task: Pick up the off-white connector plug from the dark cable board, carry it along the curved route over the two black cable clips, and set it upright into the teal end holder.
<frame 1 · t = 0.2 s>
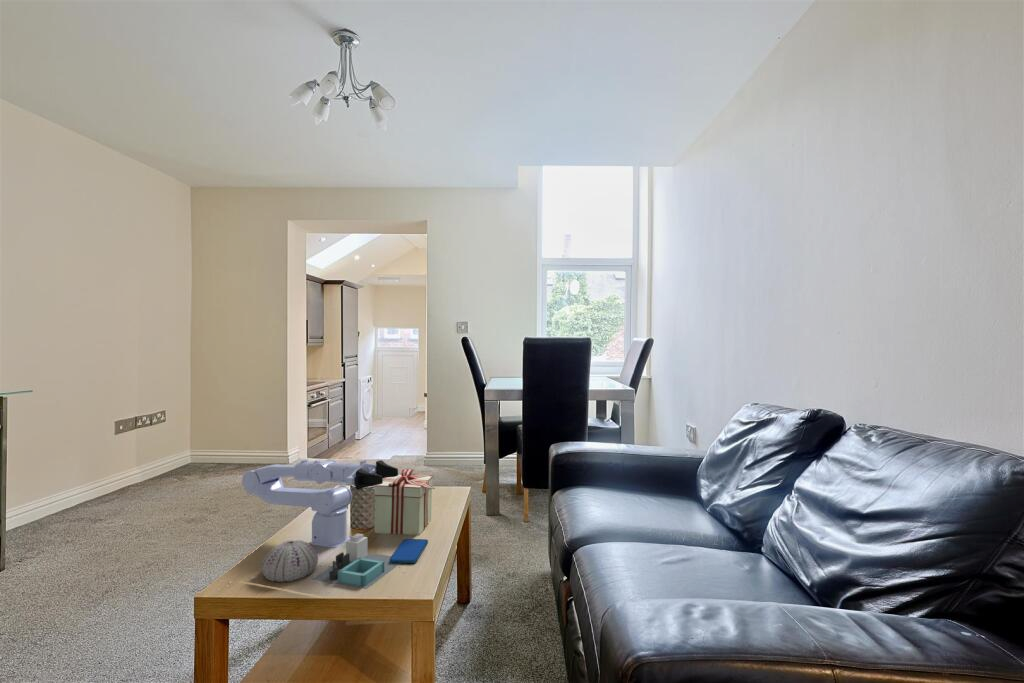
hand: (389, 476, 140), 21 cm above the table, tool horizontal, fingers open, 7 cm apart
cable board: (361, 569, 128), on the table
sea urchin shell: (290, 574, 126), on the table
smartphone: (409, 552, 138), on the table, touching cable board
connector plug: (356, 558, 135), resting on cable board
gift box: (408, 527, 160), on the table
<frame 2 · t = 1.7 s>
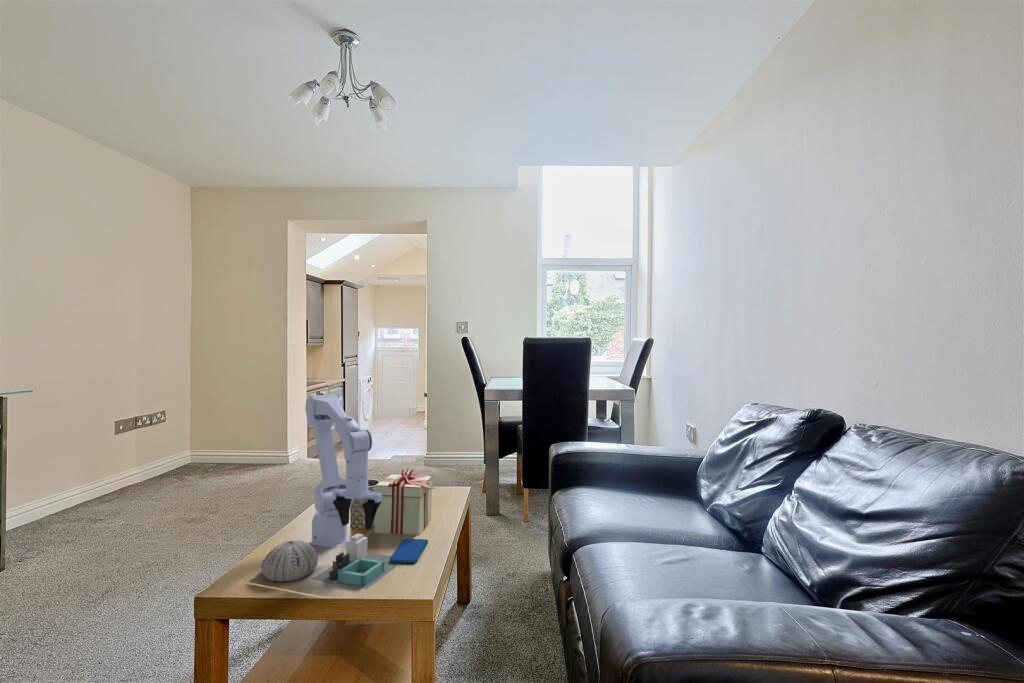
hand: (357, 526, 135), 9 cm above the table, tool pointing down, fingers open, 7 cm apart
nothing on the table moved.
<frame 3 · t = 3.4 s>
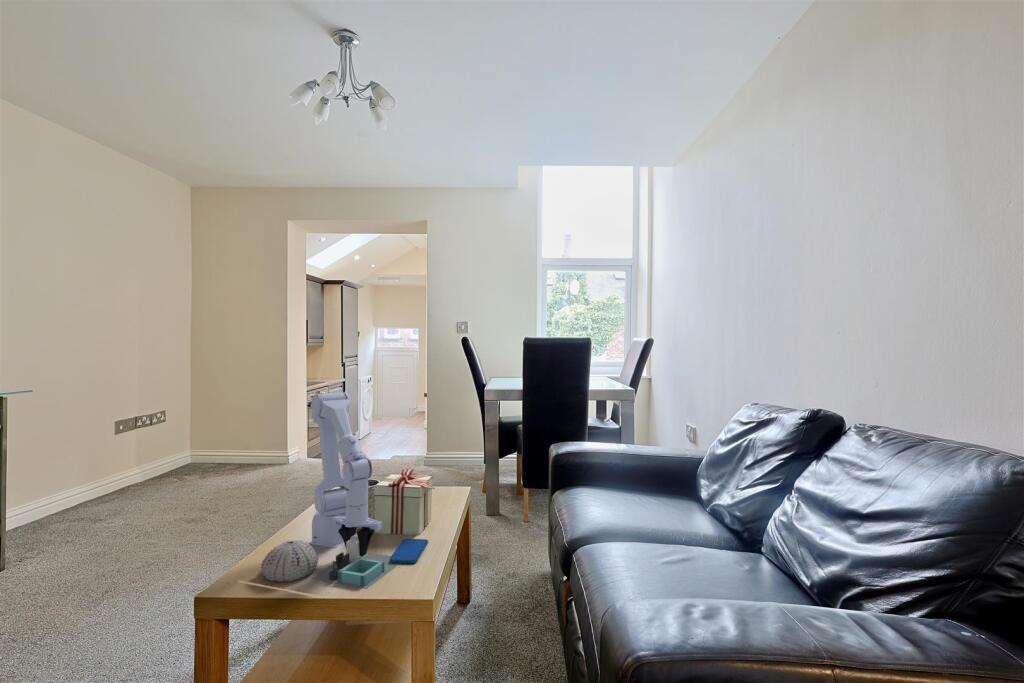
hand: (356, 553, 135), 2 cm above the table, tool pointing down, fingers closed on connector plug, 3 cm apart
connector plug: (356, 558, 135), resting on cable board, touching gripper
everything else where it was.
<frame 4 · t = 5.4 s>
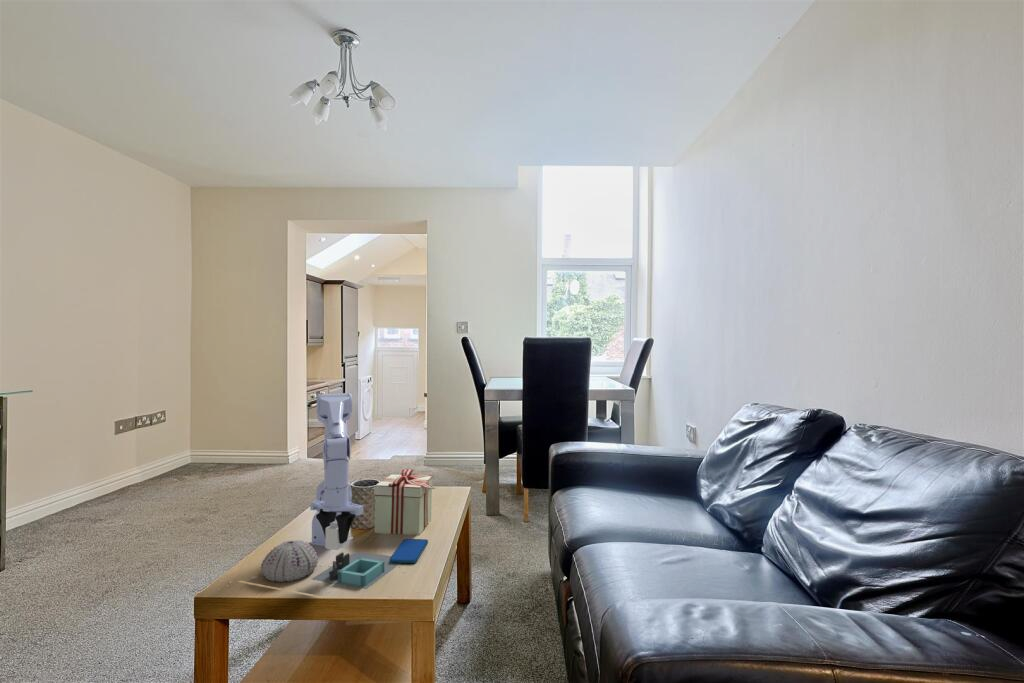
hand: (336, 541, 124), 9 cm above the table, tool pointing down, fingers closed on connector plug, 3 cm apart
connector plug: (337, 545, 124), point 8 cm above the table, touching gripper
everything else where it was.
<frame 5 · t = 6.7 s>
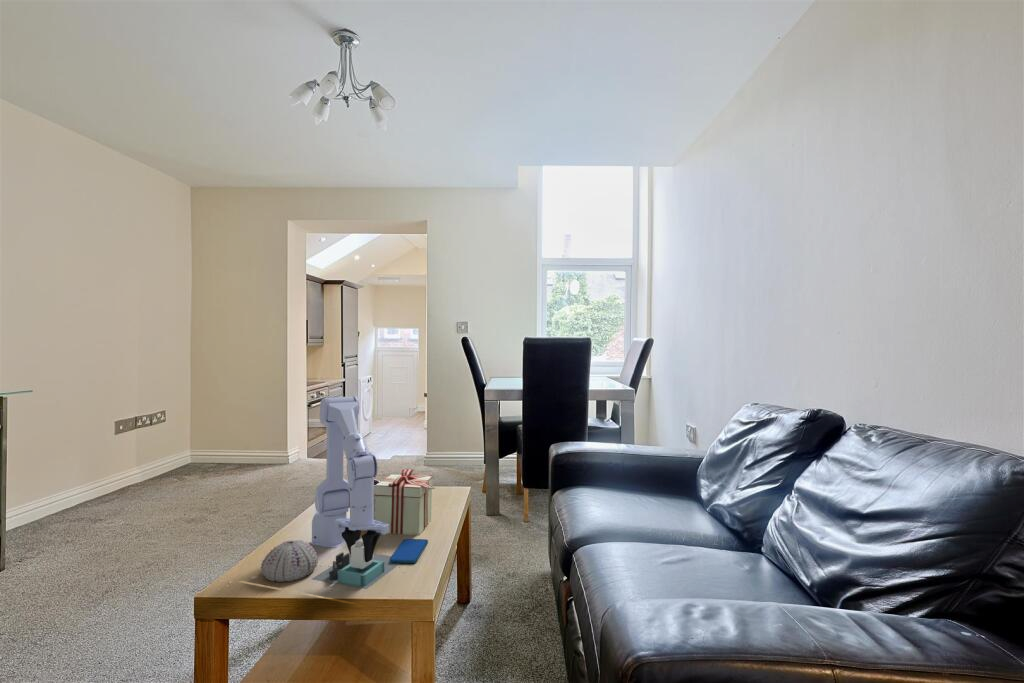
hand: (361, 559, 124), 5 cm above the table, tool pointing down, fingers closed on connector plug, 3 cm apart
connector plug: (362, 564, 124), point 3 cm above the table, touching gripper
everything else where it was.
when the fingers open (3 cm above the table, at t = 7.7 s): connector plug drops 2 cm, resting on cable board.
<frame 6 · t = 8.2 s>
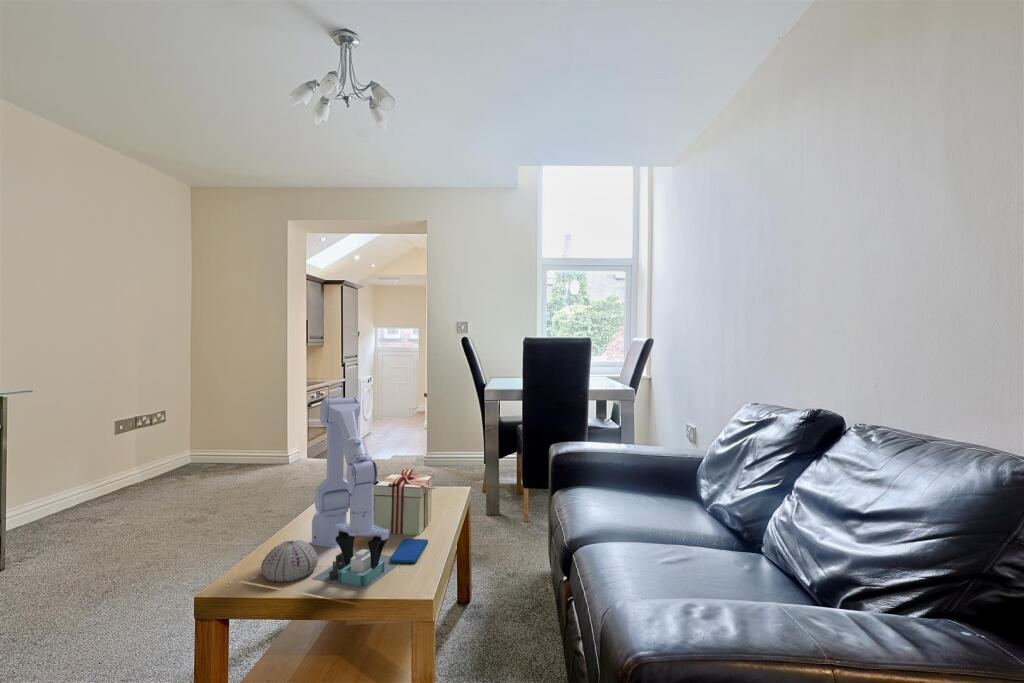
hand: (361, 564, 124), 3 cm above the table, tool pointing down, fingers open, 7 cm apart
connector plug: (362, 576, 124), resting on cable board
everything else where it was.
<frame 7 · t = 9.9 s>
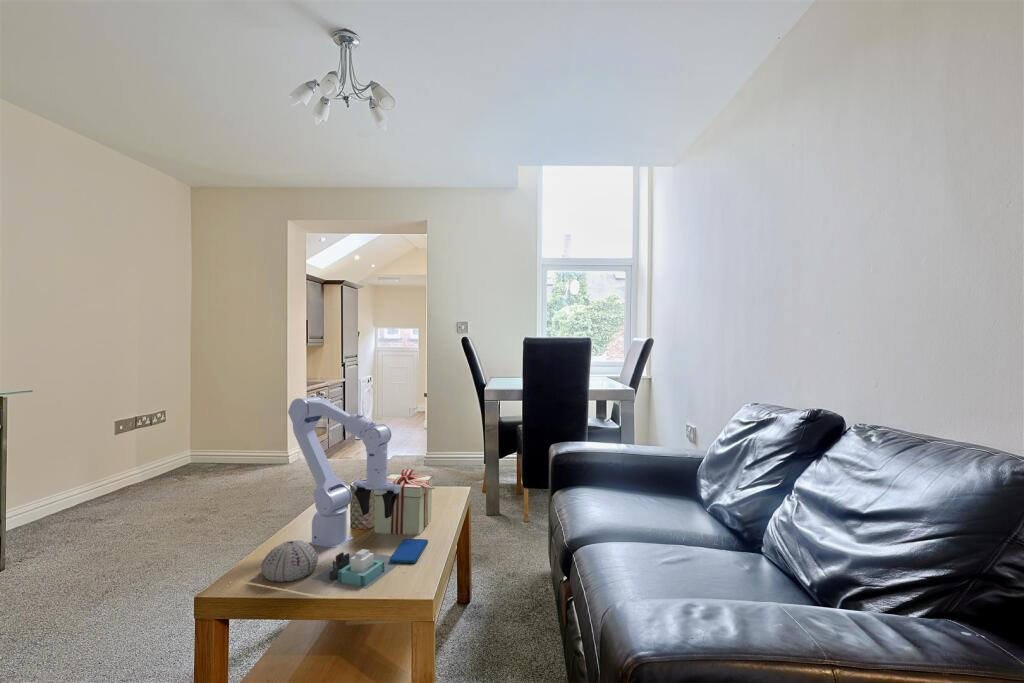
hand: (376, 515, 142), 9 cm above the table, tool pointing down, fingers open, 7 cm apart
nothing on the table moved.
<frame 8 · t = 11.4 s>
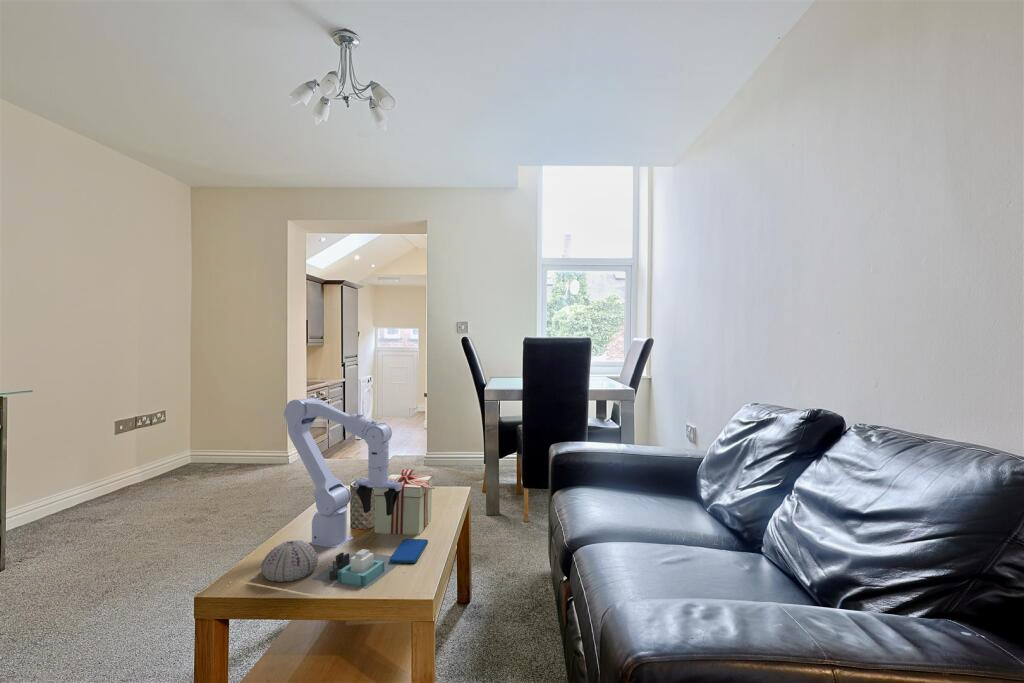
hand: (378, 513, 144), 9 cm above the table, tool pointing down, fingers open, 7 cm apart
nothing on the table moved.
at the end: connector plug 0.3 cm from the target spot on the cable board, point 0.4 cm above the cable board's base; connector plug tilted 0°; the gripper is holding nothing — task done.
